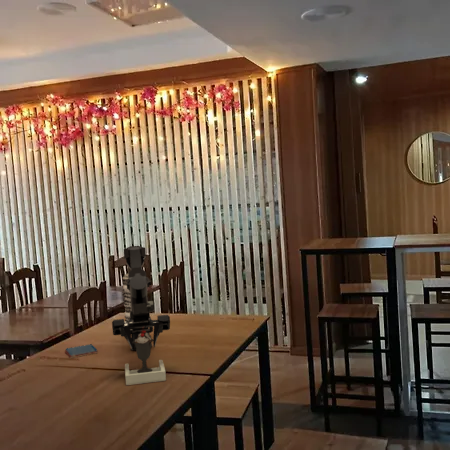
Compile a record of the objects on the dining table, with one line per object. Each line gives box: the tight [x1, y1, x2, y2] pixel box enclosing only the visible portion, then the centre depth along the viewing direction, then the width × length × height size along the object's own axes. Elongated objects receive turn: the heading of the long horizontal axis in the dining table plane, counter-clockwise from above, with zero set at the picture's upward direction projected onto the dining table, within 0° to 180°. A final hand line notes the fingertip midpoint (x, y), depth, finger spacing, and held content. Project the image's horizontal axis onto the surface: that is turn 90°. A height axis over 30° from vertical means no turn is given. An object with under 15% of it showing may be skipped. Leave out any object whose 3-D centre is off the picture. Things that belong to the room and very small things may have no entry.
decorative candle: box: [121, 272, 132, 330], centre depth 243 cm, size 9×9×25 cm
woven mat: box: [64, 343, 99, 359], centre depth 216 cm, size 10×11×2 cm
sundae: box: [133, 327, 153, 373], centre depth 184 cm, size 7×7×15 cm
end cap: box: [124, 359, 167, 386], centre depth 184 cm, size 12×12×3 cm
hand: (143, 347), depth 182 cm, fingers closed on sundae, 6 cm apart
